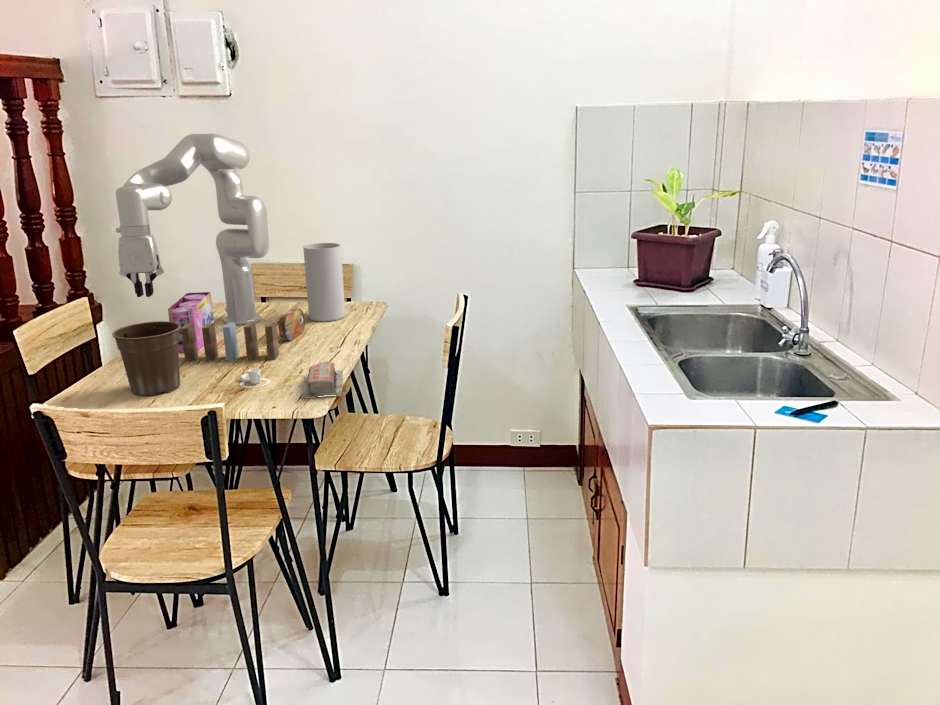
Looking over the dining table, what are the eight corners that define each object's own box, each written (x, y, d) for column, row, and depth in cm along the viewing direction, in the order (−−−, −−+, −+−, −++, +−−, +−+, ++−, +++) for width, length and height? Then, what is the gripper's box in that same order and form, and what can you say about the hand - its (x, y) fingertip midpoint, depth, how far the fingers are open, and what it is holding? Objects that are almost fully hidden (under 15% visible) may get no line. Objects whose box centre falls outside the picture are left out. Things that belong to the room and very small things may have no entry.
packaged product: (341, 379, 197) (300, 382, 196) (342, 397, 199) (302, 400, 197) (341, 358, 214) (304, 361, 213) (343, 375, 216) (306, 378, 214)
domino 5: (268, 359, 229) (264, 326, 226) (272, 354, 234) (269, 321, 232) (275, 359, 229) (271, 326, 226) (279, 354, 234) (276, 321, 232)
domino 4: (247, 360, 229) (243, 327, 226) (252, 354, 234) (248, 322, 232) (254, 360, 229) (250, 326, 226) (258, 354, 234) (255, 322, 232)
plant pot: (111, 400, 199) (101, 338, 194) (134, 379, 214) (125, 322, 210) (177, 398, 200) (168, 336, 195) (195, 377, 215) (187, 320, 210)
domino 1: (185, 361, 229) (180, 328, 226) (191, 356, 234) (187, 323, 232) (192, 361, 229) (187, 328, 226) (198, 355, 234) (194, 323, 232)
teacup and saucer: (237, 381, 213) (236, 366, 212) (268, 377, 216) (266, 362, 214) (241, 391, 205) (239, 376, 204) (272, 387, 208) (271, 372, 206)
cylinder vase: (304, 321, 270) (298, 249, 263) (315, 312, 282) (309, 243, 275) (340, 322, 269) (334, 249, 261) (349, 313, 281) (344, 242, 273)
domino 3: (226, 360, 229) (222, 327, 226) (231, 355, 234) (228, 322, 232) (233, 360, 229) (229, 327, 226) (238, 355, 234) (235, 322, 232)
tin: (287, 343, 245) (285, 317, 243) (278, 343, 246) (275, 317, 243) (306, 330, 259) (304, 305, 257) (297, 330, 260) (295, 305, 257)
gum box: (197, 353, 237) (192, 309, 233) (170, 354, 237) (164, 310, 233) (216, 332, 260) (211, 291, 256) (191, 333, 260) (186, 292, 256)
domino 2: (205, 361, 229) (201, 327, 226) (211, 355, 234) (207, 323, 232) (212, 361, 229) (208, 327, 226) (218, 355, 234) (214, 322, 232)
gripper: (101, 234, 217) (111, 299, 223) (159, 233, 217) (168, 298, 223) (113, 230, 224) (122, 293, 230) (169, 229, 224) (177, 292, 230)
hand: (145, 295), depth 226 cm, fingers closed
